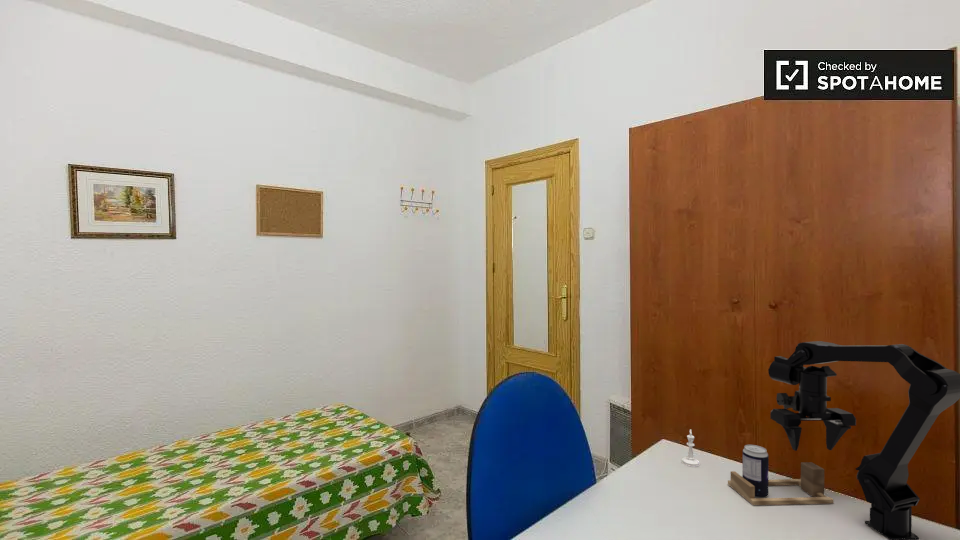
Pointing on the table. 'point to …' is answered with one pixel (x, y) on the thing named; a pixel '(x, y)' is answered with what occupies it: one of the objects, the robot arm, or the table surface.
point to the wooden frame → (809, 483)
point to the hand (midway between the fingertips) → (811, 449)
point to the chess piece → (690, 453)
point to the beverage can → (756, 468)
